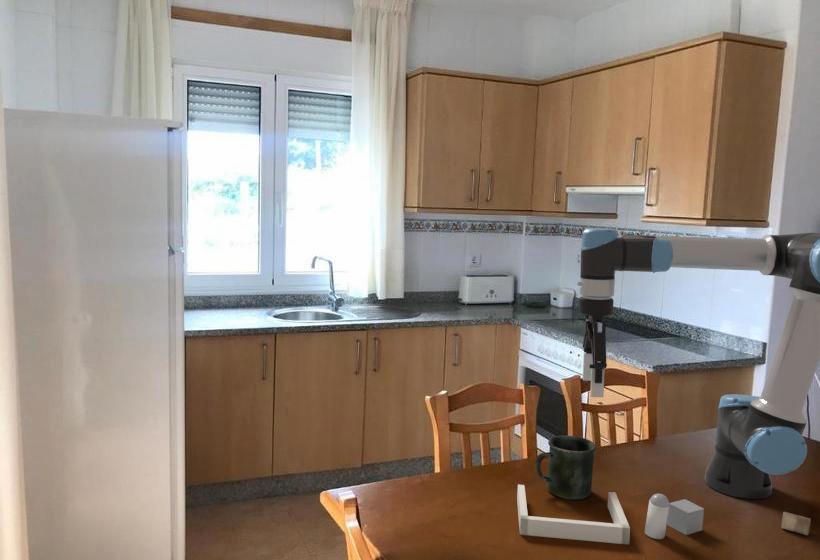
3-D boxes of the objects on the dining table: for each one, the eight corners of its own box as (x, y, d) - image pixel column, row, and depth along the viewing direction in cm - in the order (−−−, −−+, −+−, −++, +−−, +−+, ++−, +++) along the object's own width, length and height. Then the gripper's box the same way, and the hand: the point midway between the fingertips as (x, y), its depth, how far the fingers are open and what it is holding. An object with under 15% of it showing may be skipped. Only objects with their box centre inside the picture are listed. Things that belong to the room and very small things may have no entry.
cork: (784, 508, 149) (810, 515, 146) (784, 519, 150) (810, 526, 148) (781, 520, 146) (808, 527, 143) (781, 531, 148) (807, 539, 145)
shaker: (664, 531, 145) (670, 492, 143) (664, 540, 141) (671, 500, 139) (644, 527, 146) (650, 488, 144) (644, 536, 142) (650, 496, 141)
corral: (614, 507, 155) (615, 492, 155) (628, 544, 139) (630, 528, 138) (517, 498, 158) (517, 484, 157) (519, 534, 141) (520, 518, 141)
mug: (601, 499, 159) (605, 450, 158) (544, 504, 156) (547, 454, 154) (579, 480, 170) (582, 434, 168) (525, 484, 166) (527, 437, 164)
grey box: (701, 530, 146) (704, 508, 145) (685, 535, 144) (687, 513, 143) (682, 520, 150) (684, 499, 150) (666, 525, 148) (668, 503, 147)
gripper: (573, 289, 166) (570, 373, 169) (586, 305, 142) (582, 403, 145) (604, 289, 166) (601, 374, 168) (623, 306, 141) (618, 405, 144)
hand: (592, 388), depth 156 cm, fingers open, 13 cm apart
